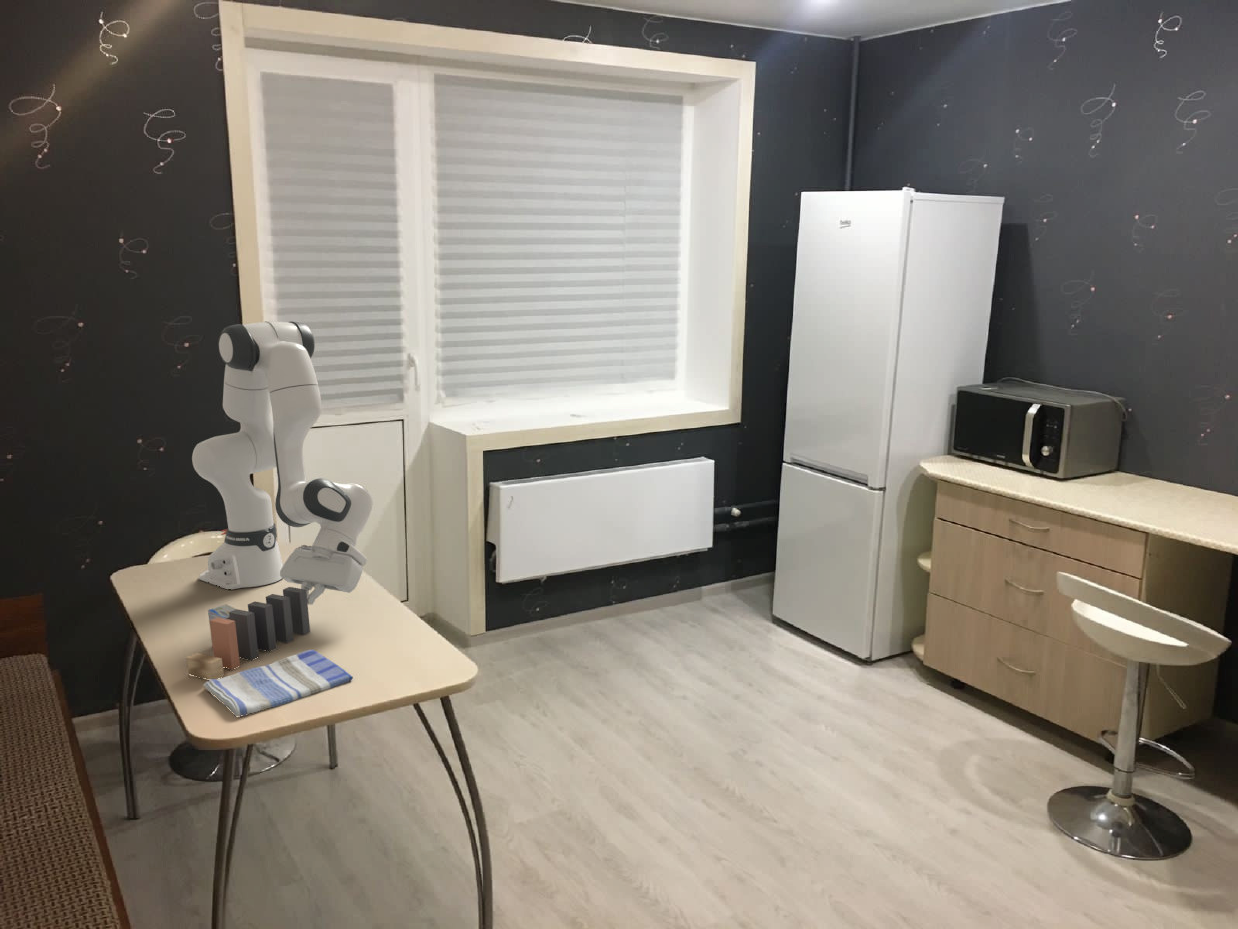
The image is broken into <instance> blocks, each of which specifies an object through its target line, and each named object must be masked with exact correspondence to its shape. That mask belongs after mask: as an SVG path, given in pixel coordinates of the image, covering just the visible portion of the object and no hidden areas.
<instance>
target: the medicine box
mask: <svg viewBox="0 0 1238 929" xmlns="http://www.w3.org/2000/svg"><path fill="white" fill-rule="evenodd" d="M236 609H237V608H235V607H233V606H231V605H229V604H223V605H219V606H215V607H213V608H210V609H208V610H207V612H208V622H209V624H210V620H212V619H215V618H217V617H219V618H223V619H228V620H230V617H229V612H231V611H233V610H236ZM209 630H210V632H211V629H210V628H209ZM210 638H211V640H212V637H211V636H210Z"/></svg>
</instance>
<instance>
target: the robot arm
mask: <svg viewBox="0 0 1238 929" xmlns="http://www.w3.org/2000/svg"><path fill="white" fill-rule="evenodd" d="M315 344H316V342H315V338H314V334H313V332H312V331H311V329H310V327H308V325H307V324H304V323H303V322H297V321H287V322H286V321H276V320H275V321H273V320H272V321H270V320H269V321H263V322H251V323H245V324H242V323H237V324H232V325H228V326H226V327H224V328H223V329H222V331H221V333H220V335H219V337H218V351H219V356H220V358H221V360H222V361H223V363H224V364H225V367H224V377H223V392H222V394H223V396H222V410H224V412H225V414H226V415H227V416H228V418H230V419H231V420H234V421H236V422H238V423H240V429H239V431H238V432H233V433H228V434H227V433H226V434H222V435H216V436H213V437H210V438H208V439H205V440H203V441H200V442H199V443H197V444H196V445H195V447H194V449H193V452H192V456H191V460H192V466H193V469H194V471H195V472H196V473H197V474H198V475H199V477H201V478H202V479H204V480H206V481H208V482H209V483H211V484H212V485H213V486H214V487H215V488H216V489H217V491H218V492H219V494H220V495H221V497H222V499H223V502H224V503H223V504H224V509H225V513H226V521H227V526H228V528H226V529H223V530H220V532H221V535H222V536H223V535H224V536H225V537H224V542H223V543H222V544H220V545H219V546H218V547H217V548H216V549H215V550H214V551H213V552H211V553H210V554H209V556H208V559H207V570H205V571H204V572H201V573H200V574H199V577H198V579H199V580H200V581H202V582H205V583H208V582H209V583H208V584H211V585H214V586H216V585H217V586H216V587H219V586H220V588H223V589H225V590H228V589H231V590H236V589H242V588H253V587H254V588H255V587H260V586H261V587H262V586H265V585H269V584H273V583H277V582H278V581H280V580H282V579H283V580H284V581H286V582H287V583H290V584H291V583H292V584H295V585H296V584H297V585H300V589H305V590H306V592H307V603H308V605H310V606H311V605H314V603H315V601H316V599H318V597H320V596H321V595H323V594H324V592H325V590H326V589H327V590H333V591H337V592H343V593H347V594H348V593H352V592H353V591H354V590H355V589H356V588H357V586H358V584H359V582H360V580H361V578H362V575H363V571H364V570H363V567H364V566H365V565H366V564H367V562H368V558H367V557H366V556H365V555H364V553H362V552H361V551H360V550H359V549H358V548H356V545H357V541H358V540H357V539H358V537H359V535H360V534H361V533H362V532H363V530H364V528H365V527H366V525H367V522H368V519H369V518H370V515H371V511H372V508H373V505H374V504H373V503H374V500H373V497H372V495H371V494H370V492H369V490H367V489H366V488H365V487H364V486H361V485H360V484H357V483H354V482H349V483H340V482H339V483H337V482H335V481H331V480H330V479H327V478H321V477H320V478H314V479H311V480H307V478H306V468H305V460H304V459H305V458H304V450H303V449H304V442H305V438H306V436H307V435H308V433H309V432H310V430H311V428H312V427H313V426H314V425H315V423H316V422H317V421H318V419H319V418H320V416H321V413H322V398H321V396H322V395H321V391H320V387H319V383H318V378H317V375H316V371H315V368H314V364H313V361H312V357H313V355H314V352H315ZM275 468H276V473H277V475H276V476H277V492H276V496H275V503H274V504H275V505H274V507H275V511H276V513H277V516H278V518H279V520H281V522H283V523H284V524H286V525H287V526H289V527H293V528H303V527H305V526H308V525H310V524H314V523H317V524H319V525H320V529H319V531H318V533H317V535H316V537H315V539H314V541H313V542H312V545H306V544H303V545H300V546H297V547H296V548H294V550H293V551H292V553H291V554H290V555H289V556H288V558H287V559H286V561H285V562H284V563H283V561H282V555H281V550H280V546H279V543H278V540H277V537H278V535H277V534H278V533H277V527H276V523H274V522H275V521H274V515H273V514H274V513H273V506H272V505H273V504H272V497H271V495H270V494H269V493H268V492H267V491H266V490H265V489H262V488H259V487H258V486H254V485H253V484H252V481H251V478H250V476H251V474H255V473H256V474H257V473H260V472H266V471H270V470H273V469H275ZM313 588H314V589H313ZM312 589H313V590H312ZM310 591H311V592H310Z"/></svg>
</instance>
